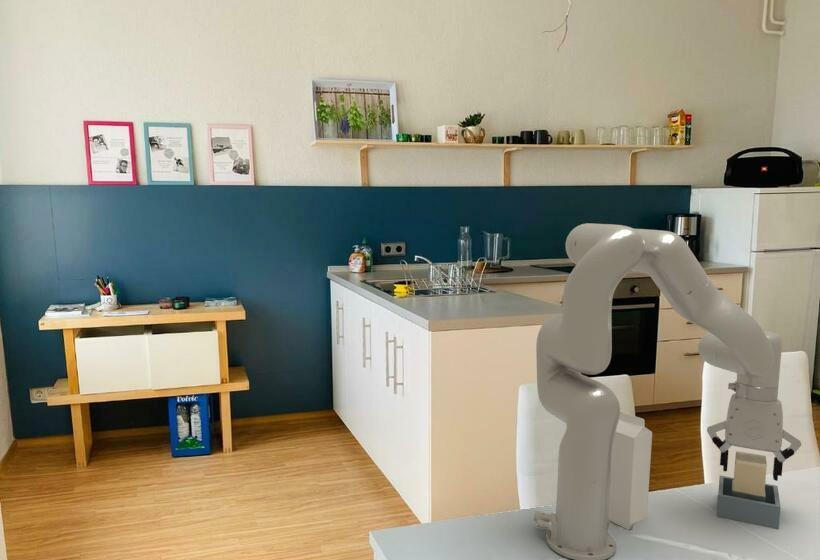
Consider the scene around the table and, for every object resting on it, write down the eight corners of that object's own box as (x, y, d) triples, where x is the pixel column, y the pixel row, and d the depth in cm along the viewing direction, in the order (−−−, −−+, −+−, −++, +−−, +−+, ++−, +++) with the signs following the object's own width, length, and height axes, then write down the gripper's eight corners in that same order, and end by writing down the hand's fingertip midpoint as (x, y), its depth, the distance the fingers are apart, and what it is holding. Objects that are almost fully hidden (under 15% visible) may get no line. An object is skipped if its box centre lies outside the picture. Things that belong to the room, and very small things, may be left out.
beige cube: (733, 490, 133) (735, 459, 132) (733, 480, 138) (735, 450, 137) (764, 496, 131) (766, 465, 130) (763, 485, 136) (765, 455, 135)
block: (730, 513, 134) (732, 490, 133) (730, 502, 139) (732, 479, 138) (763, 520, 131) (765, 497, 130) (762, 508, 136) (764, 485, 136)
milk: (629, 530, 128) (635, 422, 125) (603, 518, 133) (609, 414, 130) (647, 521, 132) (653, 416, 129) (621, 510, 137) (627, 408, 134)
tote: (716, 521, 133) (718, 495, 132) (717, 499, 142) (719, 475, 142) (778, 534, 128) (780, 507, 127) (775, 510, 137) (777, 485, 137)
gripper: (708, 390, 132) (702, 471, 134) (808, 403, 125) (800, 489, 127) (710, 381, 139) (704, 459, 141) (804, 393, 131) (797, 475, 133)
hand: (749, 473), depth 134 cm, fingers open, 8 cm apart
